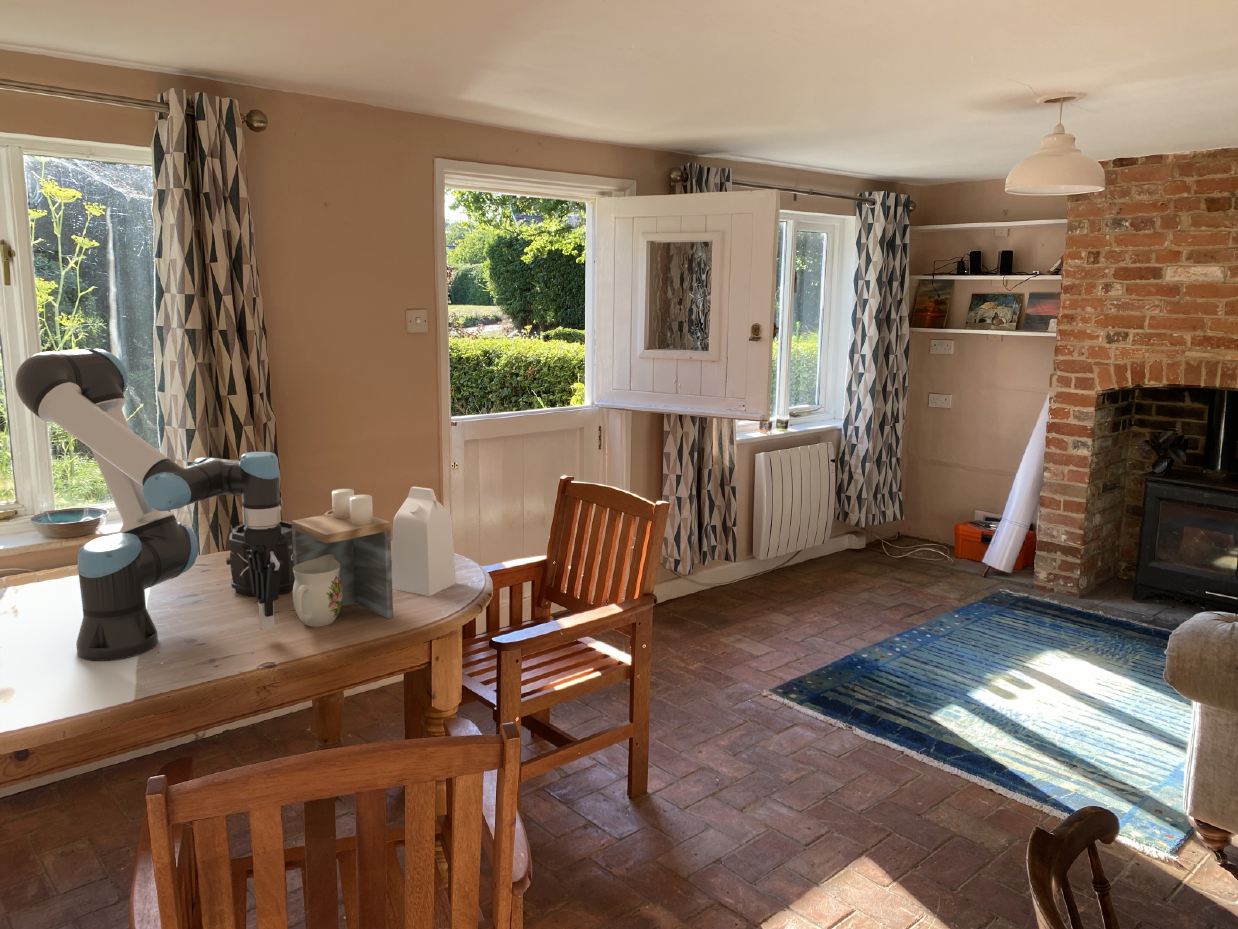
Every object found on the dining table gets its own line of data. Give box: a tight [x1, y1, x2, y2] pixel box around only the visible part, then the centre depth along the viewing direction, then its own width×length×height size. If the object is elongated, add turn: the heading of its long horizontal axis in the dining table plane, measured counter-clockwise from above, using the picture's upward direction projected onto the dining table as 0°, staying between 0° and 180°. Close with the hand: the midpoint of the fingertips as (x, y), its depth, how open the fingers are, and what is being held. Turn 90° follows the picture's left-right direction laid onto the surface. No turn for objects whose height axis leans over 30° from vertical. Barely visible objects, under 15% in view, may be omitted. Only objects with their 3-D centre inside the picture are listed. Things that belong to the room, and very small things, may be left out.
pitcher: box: [292, 554, 343, 627], centre depth 208 cm, size 11×18×14 cm, turn 173°
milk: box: [391, 486, 457, 597], centre depth 234 cm, size 12×12×26 cm
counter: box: [291, 513, 394, 619], centre depth 211 cm, size 16×16×23 cm
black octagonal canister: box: [225, 520, 295, 598], centre depth 231 cm, size 18×18×16 cm
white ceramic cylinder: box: [331, 488, 355, 519], centre depth 213 cm, size 5×5×6 cm
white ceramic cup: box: [349, 494, 374, 525], centre depth 208 cm, size 5×5×6 cm
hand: (266, 628), depth 199 cm, fingers closed
